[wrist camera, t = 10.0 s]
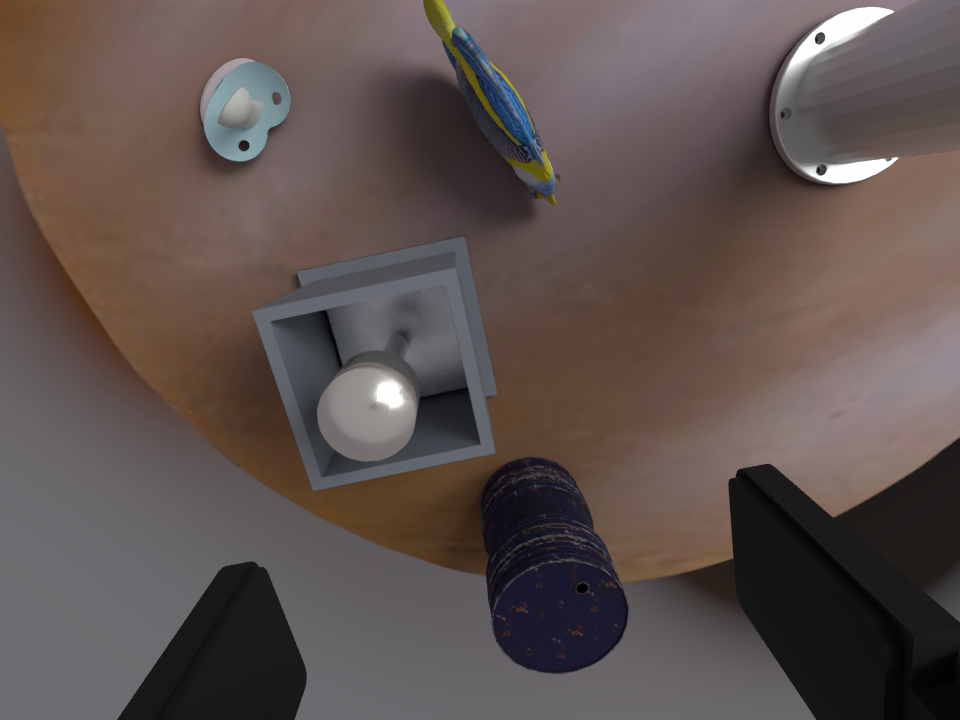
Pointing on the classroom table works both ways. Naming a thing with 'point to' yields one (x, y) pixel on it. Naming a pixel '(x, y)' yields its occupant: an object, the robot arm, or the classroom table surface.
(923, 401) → the classroom table surface
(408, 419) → the plunger
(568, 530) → the dark blue cylinder
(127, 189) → the classroom table surface
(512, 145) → the tropical fish figurine
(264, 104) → the pacifier
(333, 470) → the press housing
